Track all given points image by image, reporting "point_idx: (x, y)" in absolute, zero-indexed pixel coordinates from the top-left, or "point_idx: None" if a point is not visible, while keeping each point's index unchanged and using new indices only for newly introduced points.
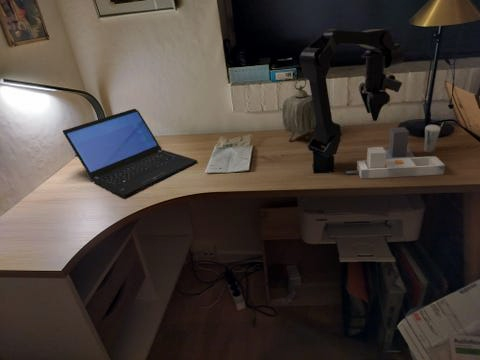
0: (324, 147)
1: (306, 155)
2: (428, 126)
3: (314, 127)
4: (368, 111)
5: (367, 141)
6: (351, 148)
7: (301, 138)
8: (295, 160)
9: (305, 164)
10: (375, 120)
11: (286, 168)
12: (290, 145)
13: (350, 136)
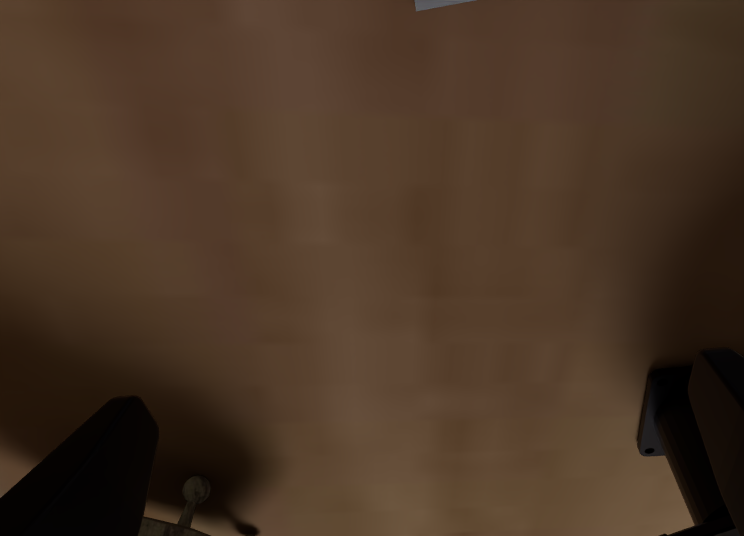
0: (729, 532)
1: (471, 471)
2: None
3: (154, 534)
4: (141, 448)
5: (142, 107)
6: (345, 245)
7: None
8: (540, 506)
9: (610, 471)
10: (729, 368)
11: (642, 528)
12: (313, 530)
13: (52, 248)
